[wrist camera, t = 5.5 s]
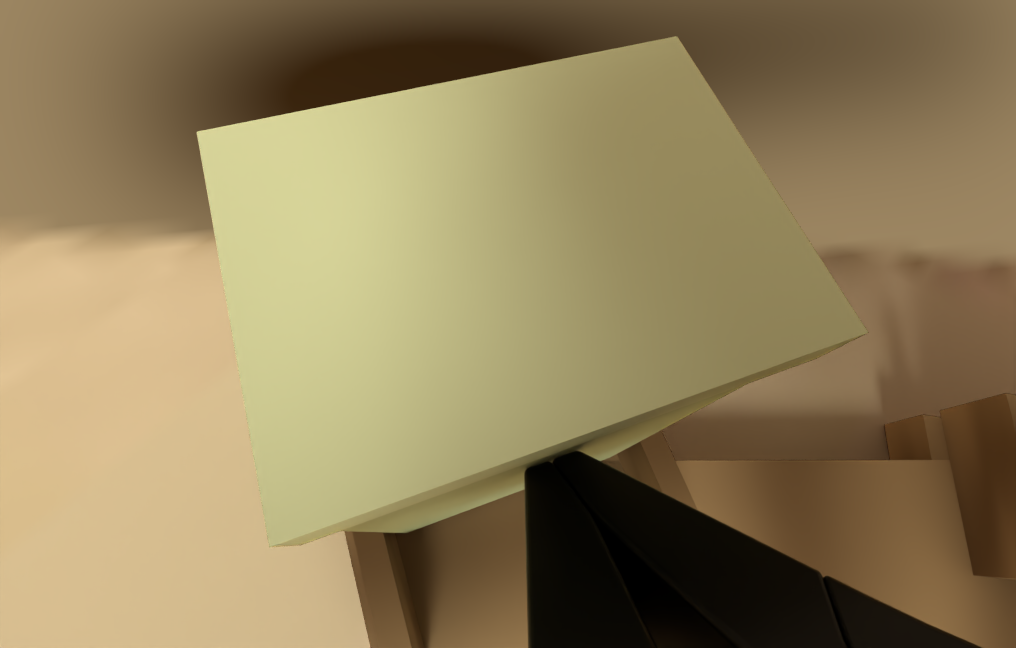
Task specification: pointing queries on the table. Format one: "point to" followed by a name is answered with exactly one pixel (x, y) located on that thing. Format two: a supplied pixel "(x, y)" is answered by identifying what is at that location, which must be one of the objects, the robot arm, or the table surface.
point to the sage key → (498, 282)
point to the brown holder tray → (760, 514)
